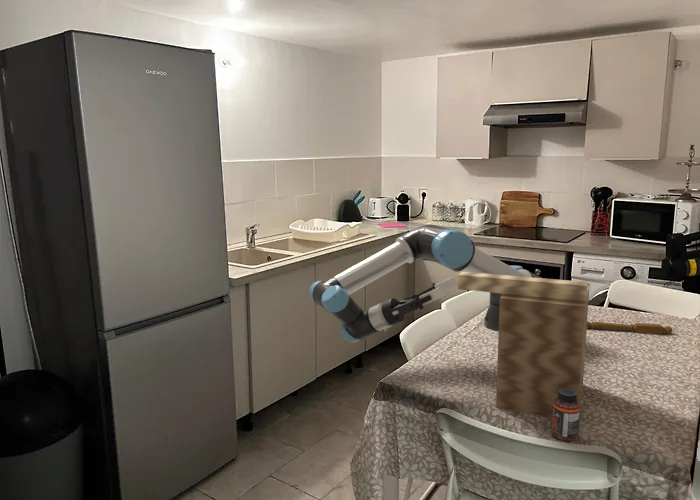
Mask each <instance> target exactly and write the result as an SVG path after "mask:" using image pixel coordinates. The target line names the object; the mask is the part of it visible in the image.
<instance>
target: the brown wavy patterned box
mask: <svg viewBox="0 0 700 500" xmlns="http://www.w3.org/2000/svg"><path fill="white" fill-rule="evenodd" d="M590 285H591V284H590V283H589V282H588V287H587V299H586V302H584V301H574V300H564V299H554V298H543V297H533V296H523V295H513V294H502V296H501V297H500V307H499V331H498V341H497V364H496V365H497V367H496V371H497V372H496V395H495V396H496V397H495V408H498V409H502V410H503V409H504V410H508V411H514V412H519V413H524V414H528V415H529V414H530V415H535V416H541V417H547V418H552V419H553V403H554V399H555V398H556V397H557V396H558V392H559V389H561V388H569V389H572V390H575V391H576V393H577V398H576V399H577V400H578V401H579V402H580V403H581V399H582V393H583V385H584V376H585V375H584V373H585V360H586V359H585V357H586V342H587V331H588V329H587V321H588V313H589V312H588V311H589V299H590V298H589V297H590Z"/></svg>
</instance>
